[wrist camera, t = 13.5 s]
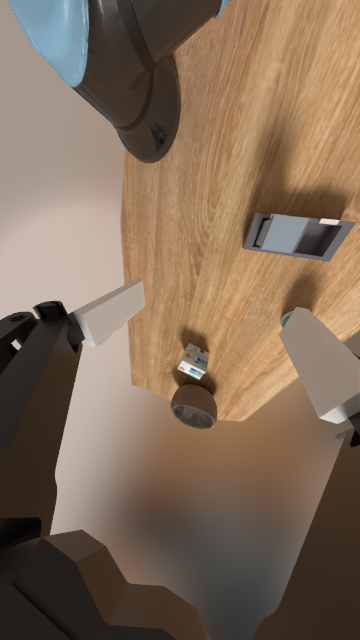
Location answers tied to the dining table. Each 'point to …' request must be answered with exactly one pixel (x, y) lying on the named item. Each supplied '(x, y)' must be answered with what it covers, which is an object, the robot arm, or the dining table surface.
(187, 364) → the light bulb box
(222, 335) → the dining table surface
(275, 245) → the plug
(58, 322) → the robot arm
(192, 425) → the bowl
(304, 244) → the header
